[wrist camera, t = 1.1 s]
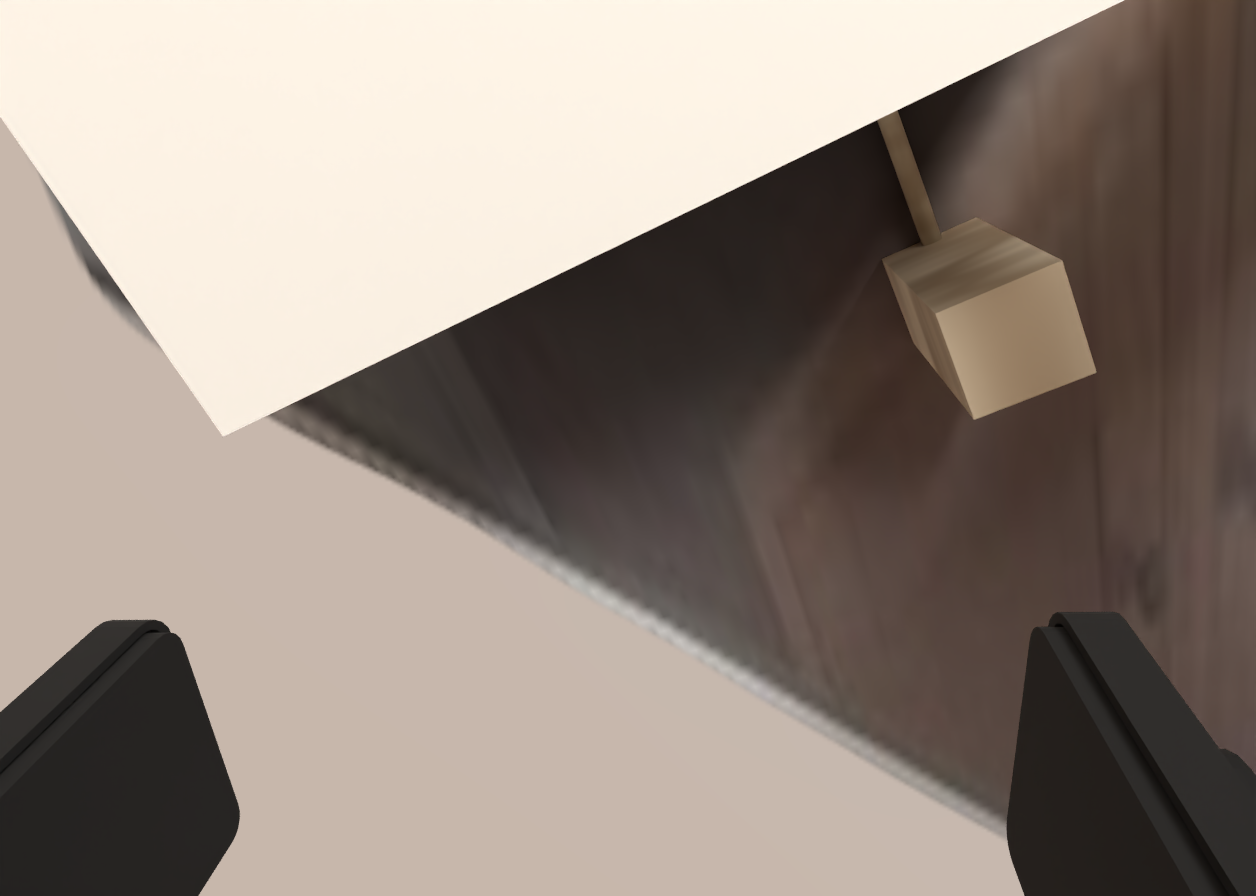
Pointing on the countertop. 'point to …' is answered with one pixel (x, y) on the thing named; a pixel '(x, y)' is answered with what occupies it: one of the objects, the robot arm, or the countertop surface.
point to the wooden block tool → (982, 302)
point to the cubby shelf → (430, 147)
